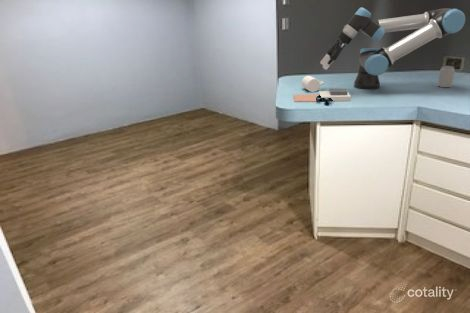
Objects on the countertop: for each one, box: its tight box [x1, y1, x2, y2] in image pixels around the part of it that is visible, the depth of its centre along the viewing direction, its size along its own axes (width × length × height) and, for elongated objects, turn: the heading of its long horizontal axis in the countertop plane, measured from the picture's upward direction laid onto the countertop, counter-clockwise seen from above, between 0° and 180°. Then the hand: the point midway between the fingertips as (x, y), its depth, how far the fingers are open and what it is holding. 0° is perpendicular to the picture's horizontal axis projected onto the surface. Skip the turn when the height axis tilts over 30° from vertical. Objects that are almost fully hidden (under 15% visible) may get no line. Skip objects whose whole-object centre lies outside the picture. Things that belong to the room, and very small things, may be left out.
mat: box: [293, 93, 319, 103], centre depth 210 cm, size 14×14×1 cm
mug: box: [301, 75, 325, 93], centre depth 226 cm, size 12×10×8 cm
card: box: [328, 88, 348, 95], centre depth 206 cm, size 9×6×2 cm, turn 83°
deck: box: [318, 90, 352, 102], centre depth 207 cm, size 16×12×2 cm
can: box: [437, 65, 456, 88], centre depth 219 cm, size 8×8×12 cm
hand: (322, 66), depth 215 cm, fingers open, 13 cm apart
